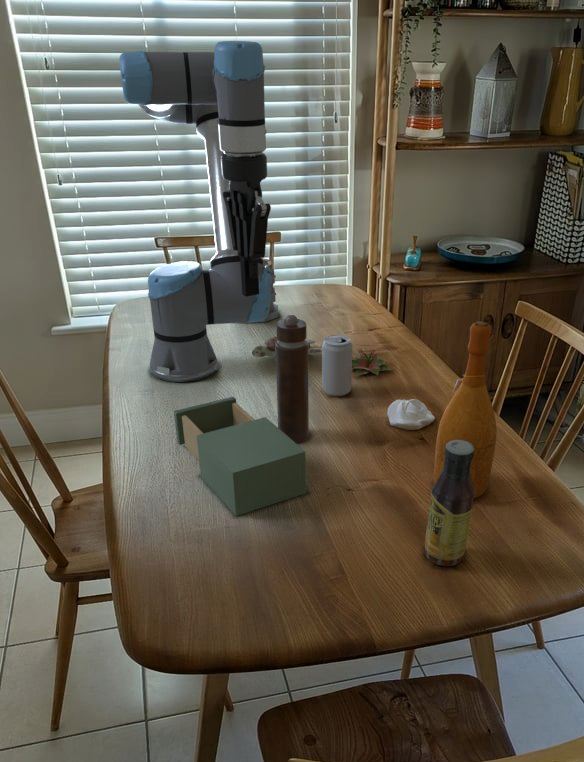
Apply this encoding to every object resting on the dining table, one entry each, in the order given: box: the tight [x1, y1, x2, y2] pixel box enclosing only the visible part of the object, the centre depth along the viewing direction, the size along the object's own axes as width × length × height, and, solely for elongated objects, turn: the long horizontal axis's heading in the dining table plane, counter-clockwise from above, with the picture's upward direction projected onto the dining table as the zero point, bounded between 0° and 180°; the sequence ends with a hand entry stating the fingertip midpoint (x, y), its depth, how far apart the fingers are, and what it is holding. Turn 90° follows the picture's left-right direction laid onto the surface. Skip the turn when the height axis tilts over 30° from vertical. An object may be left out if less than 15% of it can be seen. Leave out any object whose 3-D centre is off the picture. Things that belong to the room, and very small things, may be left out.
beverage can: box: [321, 334, 353, 397], centre depth 157 cm, size 6×6×12 cm
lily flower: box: [352, 346, 393, 377], centre depth 169 cm, size 12×12×5 cm
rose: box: [387, 398, 436, 431], centre depth 148 cm, size 10×4×10 cm
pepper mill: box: [275, 313, 310, 444], centre depth 136 cm, size 6×6×24 cm
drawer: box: [173, 396, 256, 462], centre depth 135 cm, size 15×12×7 cm
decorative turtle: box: [251, 335, 322, 361], centre depth 174 cm, size 18×17×5 cm
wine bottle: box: [433, 321, 498, 499], centre depth 120 cm, size 10×10×30 cm
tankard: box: [245, 257, 279, 324], centre depth 192 cm, size 20×13×15 cm, turn 6°
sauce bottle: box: [424, 440, 475, 567], centre depth 107 cm, size 7×6×20 cm
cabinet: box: [197, 416, 307, 517], centre depth 126 cm, size 14×13×8 cm
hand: (250, 294), depth 133 cm, fingers closed
